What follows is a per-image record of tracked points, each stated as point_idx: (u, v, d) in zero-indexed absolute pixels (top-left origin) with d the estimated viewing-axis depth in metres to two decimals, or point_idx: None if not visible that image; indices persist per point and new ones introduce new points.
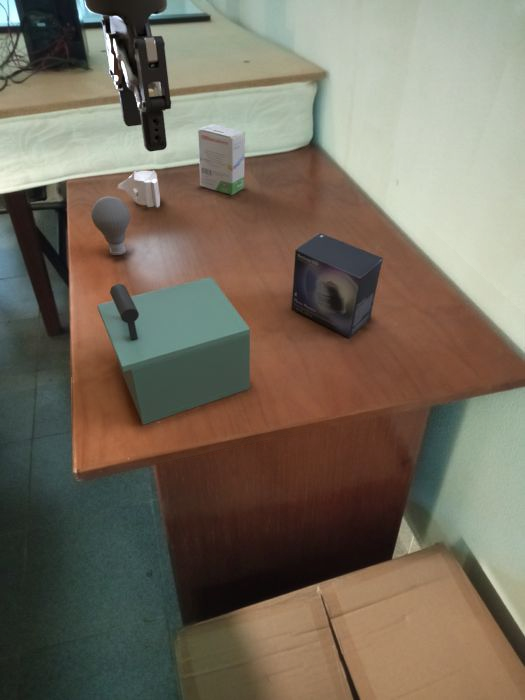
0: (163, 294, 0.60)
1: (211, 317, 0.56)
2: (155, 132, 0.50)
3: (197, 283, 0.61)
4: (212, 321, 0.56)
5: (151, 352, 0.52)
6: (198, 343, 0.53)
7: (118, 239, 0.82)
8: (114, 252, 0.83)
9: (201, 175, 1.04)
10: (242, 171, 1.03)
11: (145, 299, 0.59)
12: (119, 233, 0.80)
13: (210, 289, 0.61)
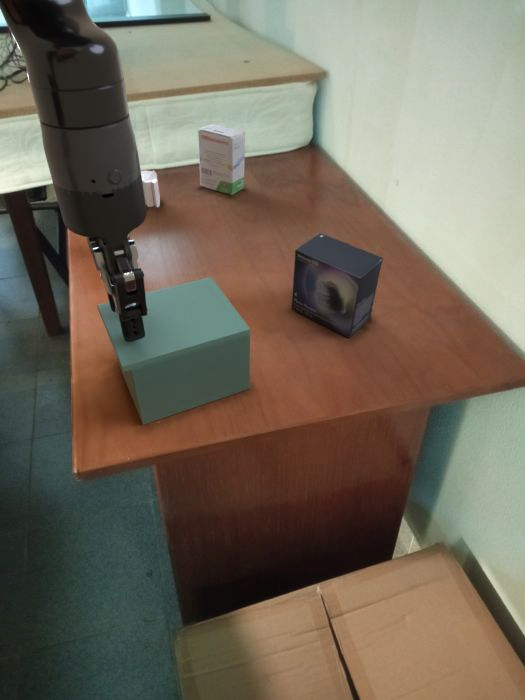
0: (163, 294, 0.60)
1: (211, 317, 0.56)
2: (133, 329, 0.50)
3: (197, 283, 0.61)
4: (212, 321, 0.56)
5: (151, 352, 0.52)
6: (198, 343, 0.53)
7: None
8: None
9: (201, 175, 1.04)
10: (242, 171, 1.03)
11: None
12: None
13: (210, 289, 0.61)
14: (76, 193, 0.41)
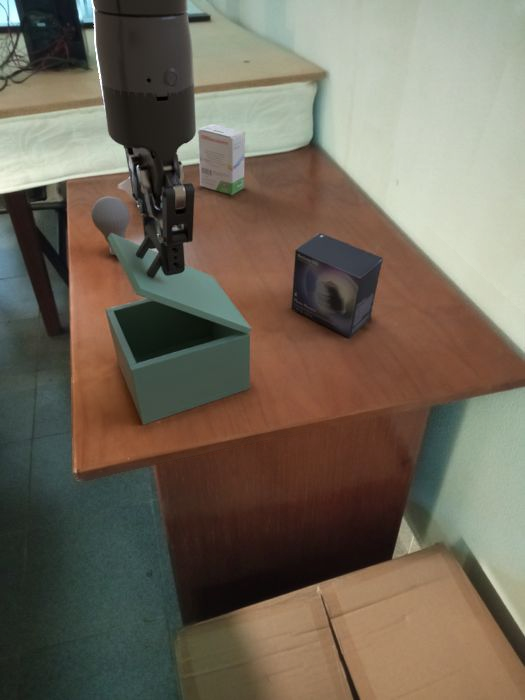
0: None
1: (217, 302, 0.56)
2: (174, 260, 0.47)
3: (202, 274, 0.61)
4: (219, 305, 0.55)
5: (167, 294, 0.48)
6: (209, 313, 0.51)
7: None
8: (114, 252, 0.83)
9: (201, 175, 1.04)
10: (242, 171, 1.03)
11: (157, 256, 0.56)
12: (119, 233, 0.80)
13: (214, 284, 0.60)
14: (129, 94, 0.38)
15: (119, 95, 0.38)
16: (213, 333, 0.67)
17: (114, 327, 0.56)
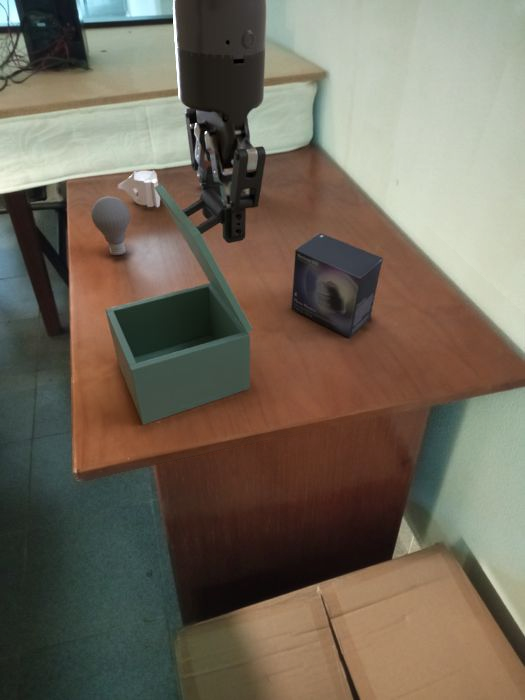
0: None
1: None
2: (237, 226, 0.48)
3: None
4: None
5: None
6: (232, 292, 0.51)
7: (118, 239, 0.82)
8: (114, 252, 0.83)
9: None
10: None
11: None
12: (119, 233, 0.80)
13: None
14: (207, 56, 0.39)
15: (197, 58, 0.39)
16: (213, 333, 0.67)
17: (114, 327, 0.56)
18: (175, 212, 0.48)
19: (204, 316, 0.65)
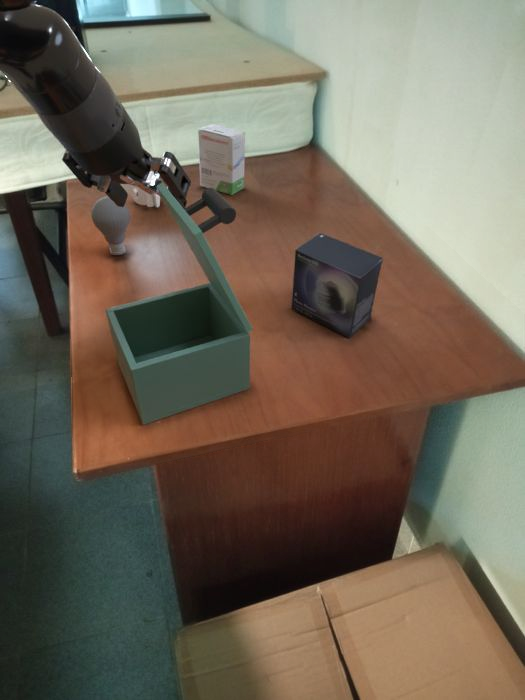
0: None
1: None
2: (182, 202, 0.62)
3: None
4: None
5: None
6: (233, 292, 0.51)
7: (118, 239, 0.82)
8: (114, 252, 0.83)
9: (201, 175, 1.04)
10: (242, 171, 1.03)
11: None
12: (119, 233, 0.80)
13: None
14: (107, 144, 0.49)
15: (100, 149, 0.50)
16: (213, 333, 0.67)
17: (114, 327, 0.56)
18: (177, 211, 0.48)
19: (204, 316, 0.65)
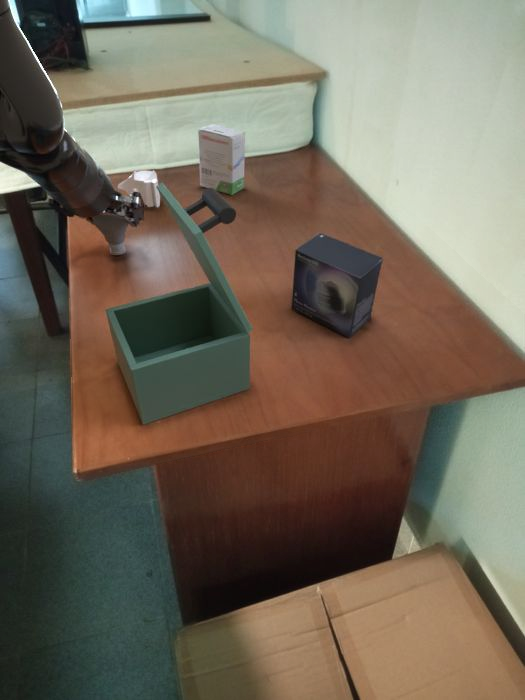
0: None
1: None
2: None
3: None
4: None
5: None
6: (233, 292, 0.51)
7: (118, 239, 0.82)
8: (114, 252, 0.83)
9: (201, 175, 1.04)
10: (242, 171, 1.03)
11: None
12: (119, 233, 0.80)
13: None
14: (96, 199, 0.66)
15: (91, 204, 0.66)
16: (213, 333, 0.67)
17: (114, 327, 0.56)
18: (177, 211, 0.48)
19: (204, 316, 0.65)
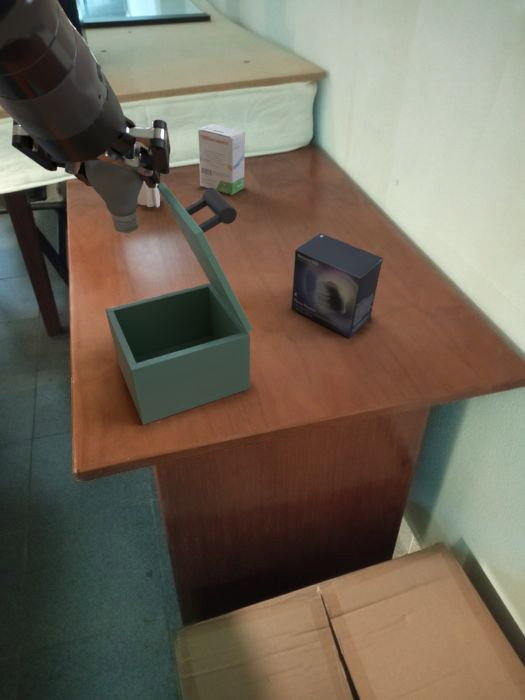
0: None
1: None
2: (158, 173, 0.51)
3: None
4: None
5: None
6: (233, 292, 0.51)
7: (127, 207, 0.52)
8: (121, 229, 0.54)
9: (201, 175, 1.04)
10: (242, 171, 1.03)
11: None
12: (129, 197, 0.51)
13: None
14: (93, 123, 0.37)
15: (85, 132, 0.37)
16: (213, 333, 0.67)
17: (114, 327, 0.56)
18: (177, 210, 0.48)
19: (204, 316, 0.65)
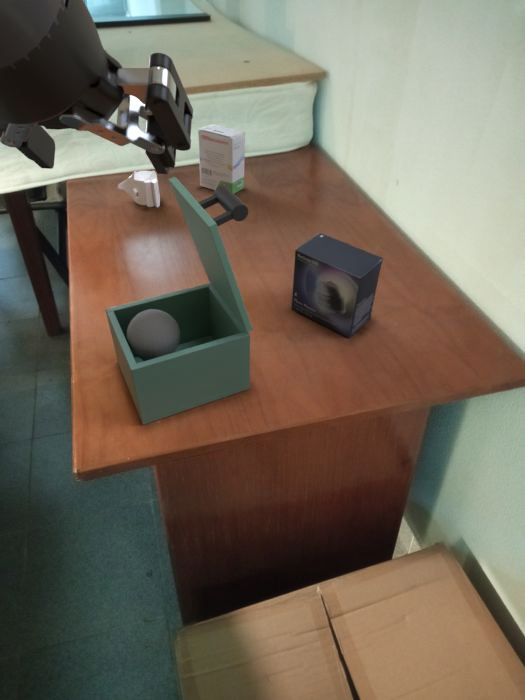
0: None
1: None
2: (172, 150, 0.34)
3: None
4: None
5: None
6: (238, 289, 0.51)
7: None
8: None
9: (201, 175, 1.04)
10: (242, 171, 1.03)
11: None
12: None
13: None
14: (40, 46, 0.20)
15: (26, 63, 0.20)
16: (213, 333, 0.67)
17: (114, 327, 0.56)
18: (190, 203, 0.48)
19: (204, 316, 0.65)
